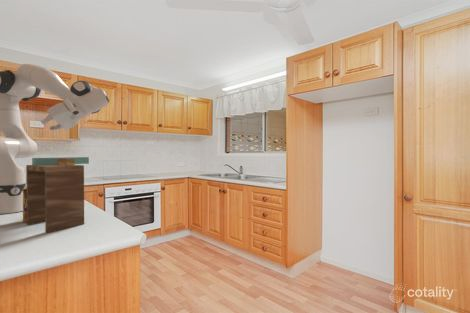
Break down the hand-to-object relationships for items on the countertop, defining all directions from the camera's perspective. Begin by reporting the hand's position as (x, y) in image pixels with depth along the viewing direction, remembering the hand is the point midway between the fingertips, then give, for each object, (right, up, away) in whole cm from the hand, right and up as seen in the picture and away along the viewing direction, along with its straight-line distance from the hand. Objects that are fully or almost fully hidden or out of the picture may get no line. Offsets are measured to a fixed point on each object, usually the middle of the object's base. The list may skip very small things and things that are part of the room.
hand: (46, 126), depth 113 cm
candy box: (-7, -43, +2) cm, 44 cm away
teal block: (+6, -17, +2) cm, 18 cm away
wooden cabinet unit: (+7, -43, -4) cm, 44 cm away
